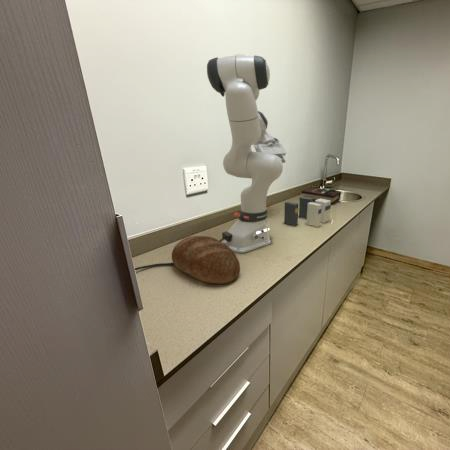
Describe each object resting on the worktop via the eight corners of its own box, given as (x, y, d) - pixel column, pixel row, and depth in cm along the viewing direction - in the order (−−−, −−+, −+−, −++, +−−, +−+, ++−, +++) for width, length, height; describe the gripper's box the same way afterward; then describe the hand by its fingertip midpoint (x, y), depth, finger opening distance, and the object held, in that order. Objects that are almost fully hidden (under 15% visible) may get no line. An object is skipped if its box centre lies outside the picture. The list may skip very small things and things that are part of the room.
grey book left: (294, 226, 130) (295, 204, 126) (284, 223, 134) (284, 202, 130) (297, 224, 133) (298, 203, 129) (287, 221, 136) (288, 201, 132)
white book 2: (324, 223, 137) (326, 202, 133) (313, 220, 141) (314, 200, 136) (326, 221, 139) (328, 201, 135) (316, 219, 143) (317, 199, 139)
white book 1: (317, 227, 131) (319, 205, 127) (306, 224, 134) (307, 203, 130) (320, 225, 133) (321, 204, 129) (309, 222, 137) (310, 202, 133)
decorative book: (308, 185, 197) (344, 190, 185) (308, 194, 200) (343, 200, 188) (298, 189, 181) (336, 195, 169) (297, 199, 184) (335, 205, 172)
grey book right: (309, 219, 142) (310, 199, 138) (298, 217, 145) (299, 197, 141) (311, 217, 145) (312, 198, 140) (301, 215, 148) (302, 196, 143)
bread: (199, 249, 100) (196, 223, 96) (251, 272, 86) (250, 243, 82) (161, 264, 88) (156, 236, 84) (215, 294, 73) (211, 261, 69)
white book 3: (326, 221, 140) (328, 201, 135) (316, 219, 143) (317, 199, 139) (329, 220, 142) (331, 200, 138) (318, 217, 146) (320, 198, 141)
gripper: (255, 138, 124) (269, 160, 123) (280, 139, 140) (293, 158, 139) (249, 147, 128) (263, 168, 127) (274, 146, 144) (286, 165, 143)
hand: (279, 162), depth 133 cm, fingers open, 8 cm apart
